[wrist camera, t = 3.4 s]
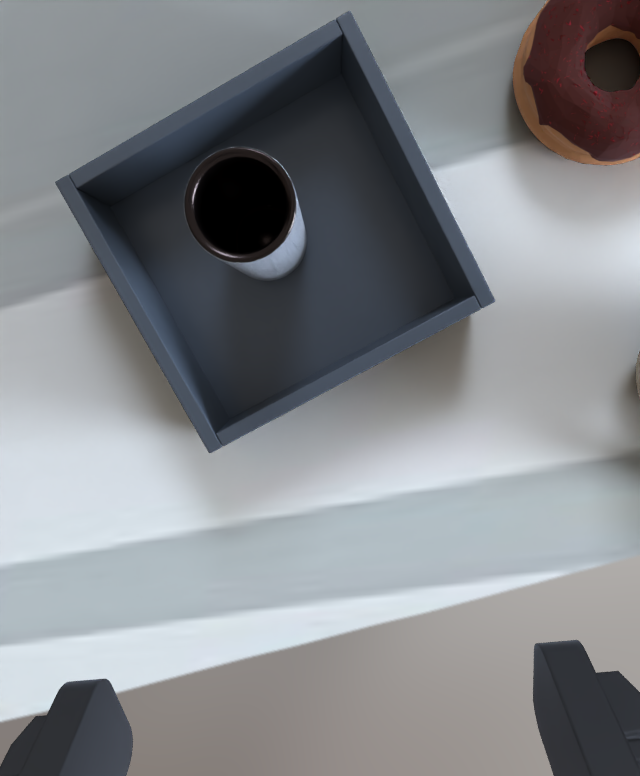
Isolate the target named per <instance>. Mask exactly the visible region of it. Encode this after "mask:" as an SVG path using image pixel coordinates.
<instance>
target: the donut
mask: <svg viewBox="0 0 640 776" xmlns="http://www.w3.org/2000/svg"><path fill="white" fill-rule="evenodd" d="M614 38H620V39H625V40H627V41H629V42H630V43H631V44H633V45H634V47H635V48H636V49H637V51H638V54H639V56H640V0H547V2H546V3H545V5H544V6H543V8H542V9H541V10H540V11H539V13H538V14H537V16H536V17H535V18H534V20H533V21H532V23H531V24H530V25H529V27H528V29H527V30H526V32H525V34H524V35H523V38H522V41H521V44H520V47H519V49H518V52H517V55H516V58H515V61H514V68H513V87H514V94H515V98H516V102H517V105H518V108H519V110H520V113H521V115H522V117H523V119H524V121H525V122H526V124H527V126H528V127H529V129H530V130H531V131H532V133H533V134H534V135H535V136H536V137H537V139H538V140H539V141H541V142H542V143H543V144H544V145H545V146H546V147H548V148H549V149H550V150H552V151H554V152H555V153H557V154H559V155H561V156H563V157H564V158H566V159H570V160H573V161H576V162H580V163H583V164H596V165H615V164H622V163H625V162H628V161H632V160H635V159H636V158H638V157H640V76H639V79H638V80H637V81H636V84H635V85H634V87H633V88H631V89H629V90H621V91H614V92H608V91H604V90H602V89H600V88H598V87H596V86H595V85H594V84H593V83H591V81H590V78H589V77H588V75H587V74H586V72H585V67H584V64H585V52H586V51H587V50H588V49H589V48H591V47H592V46H595V45H597V44H599V43H602V42H604V41H606V40H609V39H614Z"/></svg>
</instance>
